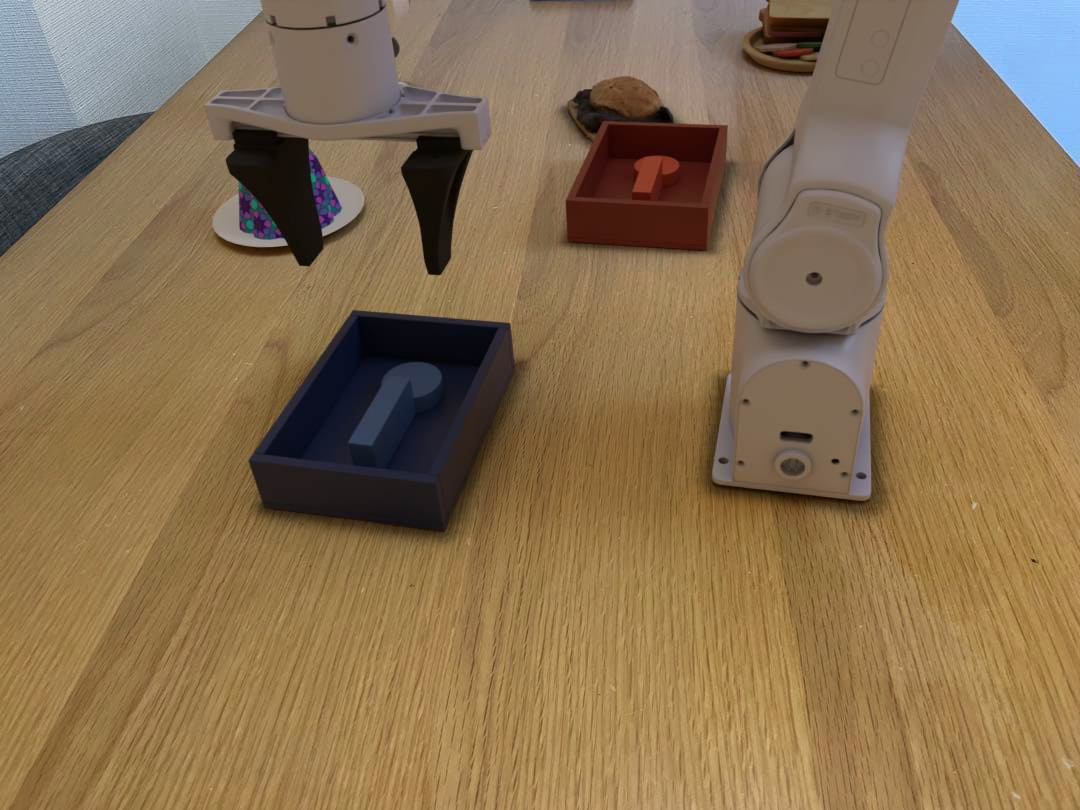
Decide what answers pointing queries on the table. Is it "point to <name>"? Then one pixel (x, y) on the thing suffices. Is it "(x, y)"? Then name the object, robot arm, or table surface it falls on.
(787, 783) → the table surface
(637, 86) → the bread roll
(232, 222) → the pudding
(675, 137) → the red bin
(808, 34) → the toy sandwich meal
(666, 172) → the red spoon
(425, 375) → the blue spoon
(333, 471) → the blue bin
